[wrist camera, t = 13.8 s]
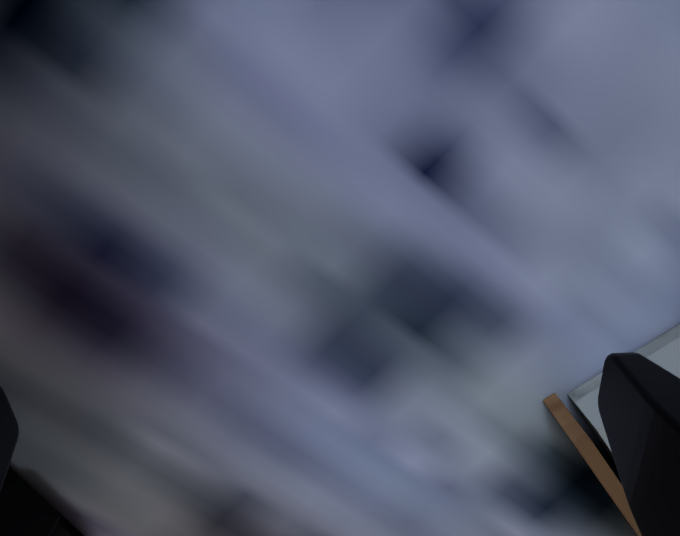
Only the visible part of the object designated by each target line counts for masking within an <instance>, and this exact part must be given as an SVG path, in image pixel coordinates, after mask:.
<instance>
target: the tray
mask: <svg viewBox="0 0 680 536" xmlns="http://www.w3.org/2000/svg"><path fill="white" fill-rule="evenodd" d="M634 353H639V354H641V355H643V356H644V357H646V358H648V359H649V360H651V361H652V362H654V363H656V364H657V365H659V366H661V367H662V368H664V369H665V370H667V371H669V372H670V373H672V374H674V375H675V376H677V377H678V378H680V323H679V324H678V325H676V326H675V327H673V328H672V329H670V330H668V331H667V332H665V333H664V334H662V335H660V336H659V337H657V338H656V339H654V340H653V341H651V342H649V343H648V344H646V345H645V346H643V347H641V348H640V349H638V350H637V351H635V352H634ZM602 373H603V372H602ZM602 373H600V374H599V375H597V376H595V377H594V378H592V379H591V380H589V381H587V382H586V383H584V384H583V385H581V386H579V387H578V388H576V389H575V390H573V391H572V392H570V393H568V395H569V397H570V398H571V400H572V401H573V403H574V404H575V405H576V407H577V408H578V410H579V411H580V413H581V414H582V416H583V417H584V419H585V420H586V422H587V423H588V425H589V426H590V427H591V429H592V430H593V432H594V433H595V435H596V436H597V438H598V439H599V441H600V442H601V444H602V445H603V447H604V448H605V449H606V451H607V452H608V454H609V455H610V457H611V458H612V460H613V461H614V458H613V455H612V451H611V448H610V445H609V442H608V439H607V435H606V432H605V429H604V426H603V423H602V420H601V416H600V413H599V408H598V394H599V388H600V383H601V378H602ZM614 463H615V461H614Z"/></svg>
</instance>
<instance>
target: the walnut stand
mask: <svg viewBox="0 0 680 536" xmlns="http://www.w3.org/2000/svg"><path fill="white" fill-rule="evenodd" d="M543 401H544V403H545V404H546V406H547V407H548V409H549V410H550V411H551V413H552V414H553V416H554V417H555V419H556V420H557V421H558V423H559V424H560V426H561V427H562V429H563V430H564V431H565V433H566V434H567V436H568V437H569V439H570V440H571V441H572V443H573V444H574V446H575V447H576V449H577V450H578V451H579V453H580V454H581V456H582V457H583V459H584V460H585V461H586V463H587V464H588V466H589V467H590V469H591V470H592V471H593V473H594V474H595V476H596V477H597V479H598V480H599V481H600V483H601V484H602V486H603V487H604V489H605V490H606V491H607V493H608V494H609V496H610V497H611V499H612V500H613V501H614V503H615V504H616V506H617V507H618V509H619V510H620V511H621V513H622V514H623V516H624V517H625V519H626V520H627V521H628V523H629V524H630V526H631V527H632V529H633V530H634V531H635V533H636V534H637V536H642V535H641V533H640V531H639V529H638V526H637V524H636V522H635V519H634V517H633V515H632V512H631V510H630V507H629V504H628V501H627V499H626V496H625V493H624V490H623V486H622V484H621V483H620V481H619V480H618V479H617V477H616V476H615V474H614V473H613V471H612V470H611V468H610V467H609V465H608V464H607V462H606V461H605V460H604V458H603V457H602V455H601V454H600V452H599V451H598V449H597V448H596V446H595V445H594V444H593V442H592V441H591V439H590V438H589V437H588V435H587V434H586V433H585V431H584V430H583V429H582V428H581V426H580V425H579V424H578V422H577V421H576V420H575V419H574V417H573V416H572V415H571V413H570V412H569V411H568V409H567V408H566V407H565V406H564V404H563V403H562V402H561V400H560V399H559V398H558V396H557V395H556V394H555V393H554V394H552V395H550V396H549V397H547V398H546V399H544V400H543Z"/></svg>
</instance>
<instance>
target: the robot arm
mask: <svg viewBox="0 0 680 536" xmlns="http://www.w3.org/2000/svg"><path fill="white" fill-rule="evenodd" d="M598 408H599V413H600V416H601V420H602V423H603V426H604V429H605V432H606V435H607V439H608V442H609V445H610V448H611V451H612V455H613V458H614V461H615V464H616V467H617V470H618V474H619V477H620V480H621V483H622V486H623V490H624V493H625V496H626V499H627V501H628V504H629V507H630V510H631V512H632V515H633V517H634V519H635V522H636V524H637V526H638V529H639V531H640V533H641V535H642V536H680V378H678V377H677V376H675V375H674V374H672V373H670V372H669V371H667V370H665V369H664V368H662V367H661V366H659V365H657V364H656V363H654V362H652V361H651V360H649V359H648V358H646V357H644V356H643V355H641V354H639V353H634V352H630V353H612V354H610V355H608V356H607V358H606V360H605V363H604V367H603V373H602V378H601V383H600V388H599V394H598ZM18 434H19V428H18V423H17V420H16V418H15V415H14V413H13V411H12V408H11V406H10V404H9V401H8V399H7V397H6V395H5V392H4V390H3V388H2V387H1V386H0V536H84V535H83V534H82V533H81V532H80V531H78V530H77V529H76V528H75V527H74V526H73V525H72V524H71V523H70V522H69V521H68V520H67V519H66V518H65V517H63V516H62V515H61V514H60V513H59V512H58V511H57V510H56V509H55V508H54V507H53V506H52V505H51V504H50V503H48V502H47V501H46V500H45V499H44V498H43V497H42V496H41V495H40V494H39V493H38V492H37V491H36V490H35V489H33V488H32V487H31V486H30V485H29V484H28V483H27V482H26V481H25V480H24V479H23V478H22V477H21V476H20V475H19V474H17V473H16V472H15V471H14V470H13V469H12V468H11V467H10V466H9V464H10V461H11V458H12V455H13V452H14V449H15V446H16V443H17V439H18Z"/></svg>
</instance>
